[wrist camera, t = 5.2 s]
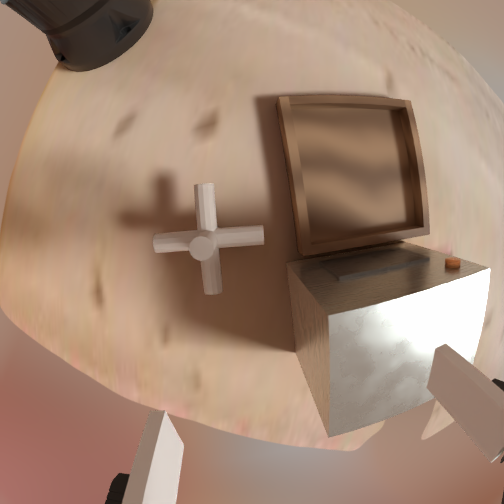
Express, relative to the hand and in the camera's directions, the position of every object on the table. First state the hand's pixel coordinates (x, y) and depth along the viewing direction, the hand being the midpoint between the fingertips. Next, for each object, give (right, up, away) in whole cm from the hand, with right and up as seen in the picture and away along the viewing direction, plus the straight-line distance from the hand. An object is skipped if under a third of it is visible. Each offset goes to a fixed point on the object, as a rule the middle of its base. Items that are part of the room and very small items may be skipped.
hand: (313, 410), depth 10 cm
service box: (+10, +1, +21) cm, 24 cm away
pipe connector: (-7, +9, +19) cm, 22 cm away
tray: (+10, +17, +19) cm, 27 cm away
